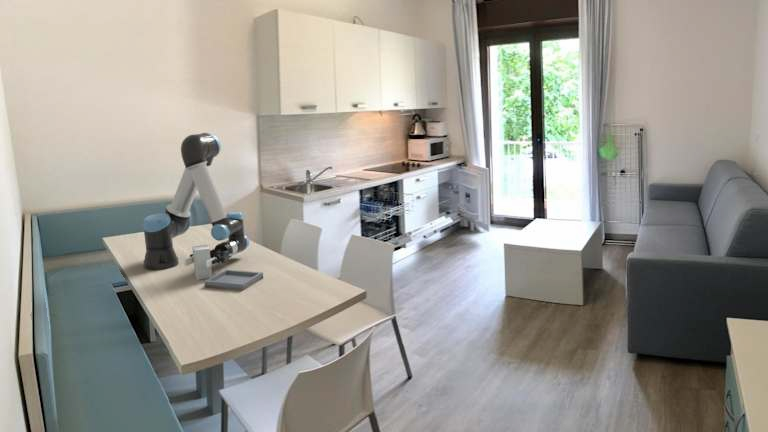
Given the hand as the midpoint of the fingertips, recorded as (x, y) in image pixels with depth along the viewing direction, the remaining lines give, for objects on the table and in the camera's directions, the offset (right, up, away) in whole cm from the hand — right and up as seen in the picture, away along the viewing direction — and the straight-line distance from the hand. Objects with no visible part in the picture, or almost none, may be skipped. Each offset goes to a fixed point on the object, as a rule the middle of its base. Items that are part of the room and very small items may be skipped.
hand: (195, 263), depth 236 cm
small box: (+1, -6, +6) cm, 8 cm away
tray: (+17, -8, -4) cm, 19 cm away
